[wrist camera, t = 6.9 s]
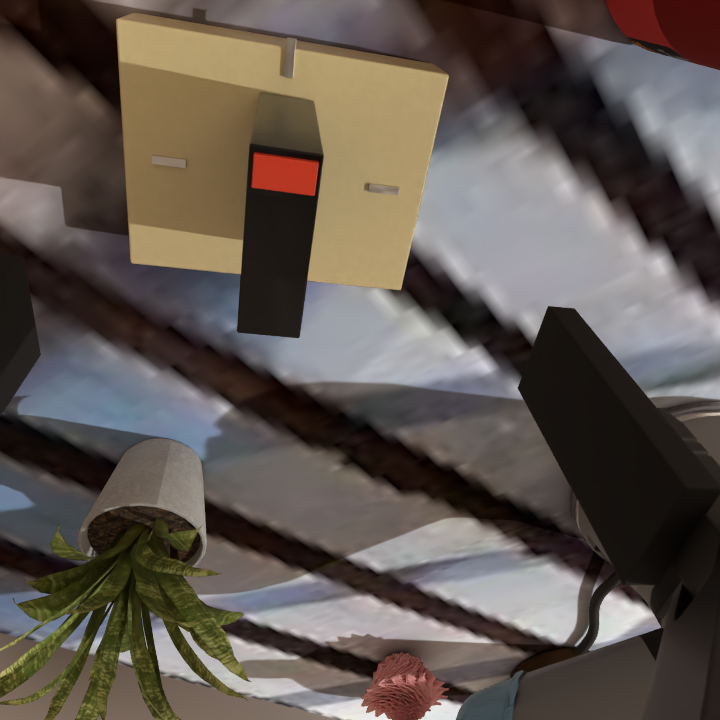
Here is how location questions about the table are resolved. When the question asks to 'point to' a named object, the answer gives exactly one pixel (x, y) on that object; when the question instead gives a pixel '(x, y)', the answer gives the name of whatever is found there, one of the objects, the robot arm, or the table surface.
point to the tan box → (233, 134)
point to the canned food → (672, 27)
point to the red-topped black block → (279, 215)
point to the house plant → (131, 584)
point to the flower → (402, 688)
